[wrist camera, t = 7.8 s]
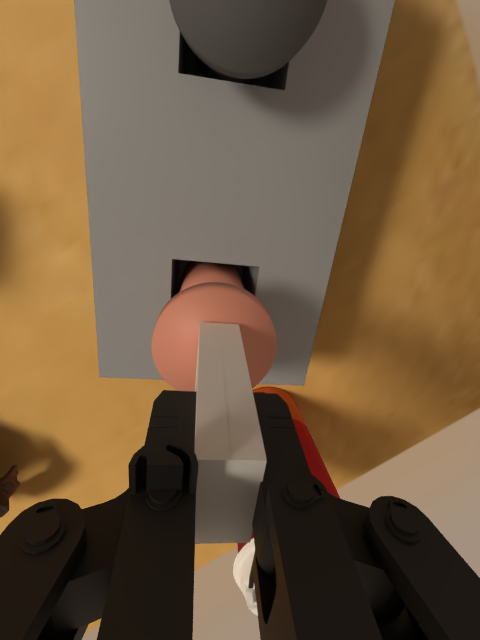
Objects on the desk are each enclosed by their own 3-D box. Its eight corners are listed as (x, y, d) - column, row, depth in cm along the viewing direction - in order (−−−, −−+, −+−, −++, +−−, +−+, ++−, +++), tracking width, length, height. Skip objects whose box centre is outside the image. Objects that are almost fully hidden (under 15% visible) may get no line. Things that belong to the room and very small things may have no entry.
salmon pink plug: (172, 236, 20) (151, 285, 12) (255, 244, 21) (286, 296, 13) (170, 313, 22) (150, 397, 14) (245, 318, 23) (267, 401, 15)
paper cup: (226, 448, 32) (240, 637, 19) (217, 382, 28) (228, 557, 16) (307, 438, 32) (374, 616, 20) (308, 371, 29) (389, 534, 16)
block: (114, -87, 16) (58, -242, 10) (349, -35, 18) (428, -141, 12) (125, 323, 25) (99, 377, 19) (280, 333, 27) (303, 385, 21)
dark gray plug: (183, -20, 16) (164, -186, 8) (284, 0, 17) (351, -137, 9) (179, 101, 18) (160, 57, 11) (269, 115, 19) (313, 83, 11)
